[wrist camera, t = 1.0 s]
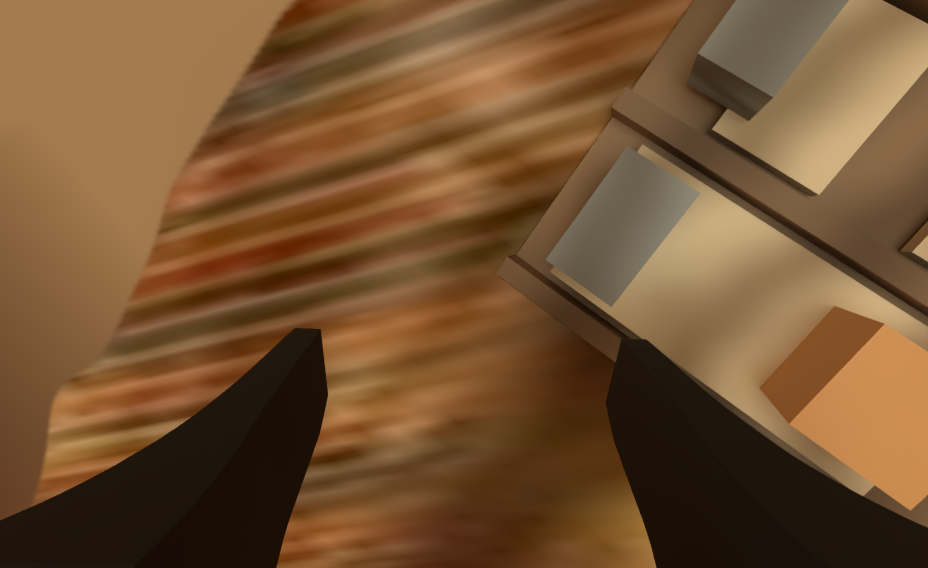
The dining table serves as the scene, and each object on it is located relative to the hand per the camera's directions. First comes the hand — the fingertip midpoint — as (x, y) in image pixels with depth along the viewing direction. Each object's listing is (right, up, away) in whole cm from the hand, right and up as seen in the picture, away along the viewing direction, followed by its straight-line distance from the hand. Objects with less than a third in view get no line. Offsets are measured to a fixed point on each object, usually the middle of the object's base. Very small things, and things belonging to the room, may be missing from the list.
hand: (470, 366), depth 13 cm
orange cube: (+16, -2, +9) cm, 18 cm away
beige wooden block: (+13, +1, +12) cm, 17 cm away
